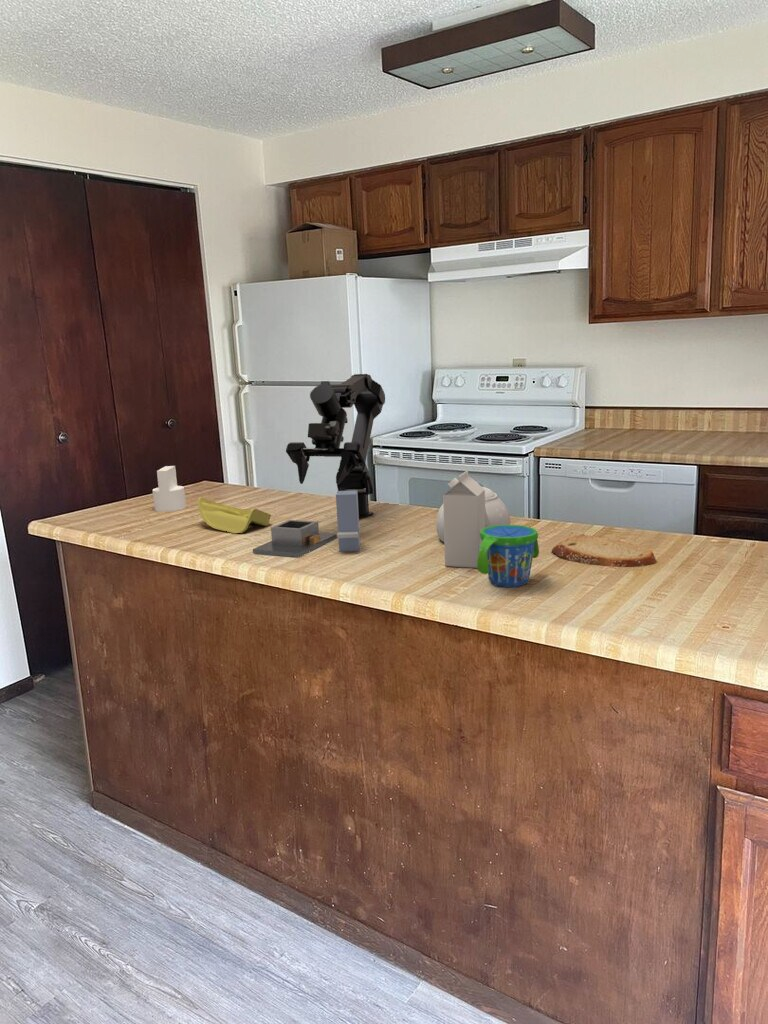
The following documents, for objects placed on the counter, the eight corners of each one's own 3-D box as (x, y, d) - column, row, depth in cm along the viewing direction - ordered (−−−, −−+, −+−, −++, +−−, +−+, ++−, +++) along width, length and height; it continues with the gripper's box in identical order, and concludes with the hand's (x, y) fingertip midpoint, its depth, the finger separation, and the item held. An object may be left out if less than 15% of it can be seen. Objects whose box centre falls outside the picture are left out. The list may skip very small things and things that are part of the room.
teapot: (529, 536, 181) (529, 478, 178) (482, 554, 168) (481, 492, 165) (465, 525, 194) (464, 471, 191) (417, 541, 181) (415, 484, 178)
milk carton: (486, 559, 164) (484, 470, 160) (478, 568, 157) (477, 476, 153) (453, 557, 166) (451, 469, 162) (444, 566, 160) (442, 475, 155)
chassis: (294, 534, 192) (292, 514, 191) (336, 537, 187) (335, 517, 186) (252, 553, 176) (251, 532, 175) (298, 557, 171) (297, 535, 170)
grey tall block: (341, 543, 181) (338, 489, 178) (360, 543, 181) (357, 488, 178) (338, 554, 172) (335, 496, 170) (358, 553, 172) (355, 496, 170)
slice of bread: (663, 566, 155) (664, 548, 154) (577, 573, 153) (577, 555, 152) (622, 543, 172) (623, 527, 172) (545, 550, 170) (545, 533, 169)
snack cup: (518, 568, 156) (518, 519, 154) (558, 580, 148) (558, 528, 146) (459, 584, 148) (458, 532, 145) (498, 598, 139) (497, 543, 137)
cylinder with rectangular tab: (181, 511, 226) (177, 470, 223) (150, 512, 226) (146, 471, 223) (189, 504, 234) (185, 465, 232) (159, 505, 235) (155, 466, 232)
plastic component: (274, 516, 203) (250, 506, 195) (266, 543, 202) (242, 535, 194) (220, 504, 214) (195, 495, 205) (212, 530, 213) (186, 521, 204)
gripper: (285, 409, 185) (269, 464, 178) (358, 408, 180) (346, 465, 173) (300, 435, 195) (287, 489, 188) (371, 435, 189) (360, 490, 182)
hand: (318, 483), depth 182 cm, fingers open, 9 cm apart
